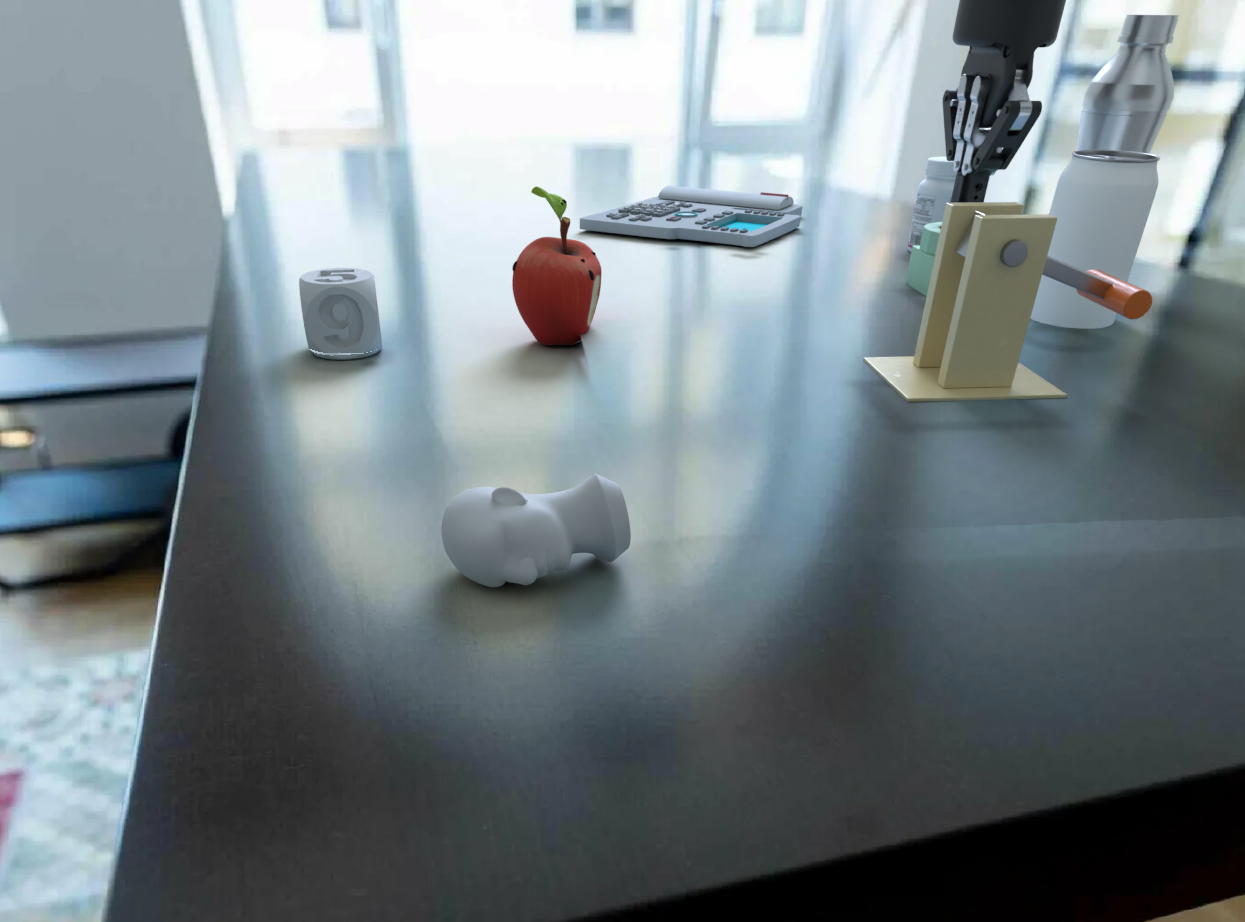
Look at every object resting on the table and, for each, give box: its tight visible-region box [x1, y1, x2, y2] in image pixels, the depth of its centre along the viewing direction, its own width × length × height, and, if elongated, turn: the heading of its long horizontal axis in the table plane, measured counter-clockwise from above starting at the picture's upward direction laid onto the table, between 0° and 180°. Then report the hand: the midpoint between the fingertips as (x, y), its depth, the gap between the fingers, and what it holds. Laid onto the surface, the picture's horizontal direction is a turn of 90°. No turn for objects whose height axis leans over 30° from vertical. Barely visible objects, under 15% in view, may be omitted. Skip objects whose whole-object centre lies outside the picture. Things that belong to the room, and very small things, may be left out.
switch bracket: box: [862, 201, 1068, 403], centre depth 57 cm, size 10×8×11 cm
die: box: [298, 267, 383, 361], centre depth 65 cm, size 5×5×5 cm
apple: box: [511, 185, 602, 346], centre depth 66 cm, size 8×7×10 cm
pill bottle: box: [907, 156, 957, 253], centre depth 92 cm, size 5×5×8 cm
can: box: [1030, 150, 1161, 330], centre depth 68 cm, size 6×6×12 cm
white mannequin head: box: [441, 473, 632, 588], centre depth 39 cm, size 4×8×5 cm
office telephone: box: [579, 185, 803, 248], centre depth 105 cm, size 23×3×20 cm
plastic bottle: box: [1075, 14, 1180, 154], centre depth 77 cm, size 6×7×20 cm
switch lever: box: [955, 211, 1153, 320], centre depth 56 cm, size 11×6×2 cm, turn 95°
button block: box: [905, 222, 942, 297], centre depth 80 cm, size 9×8×5 cm
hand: (962, 223), depth 79 cm, fingers closed
